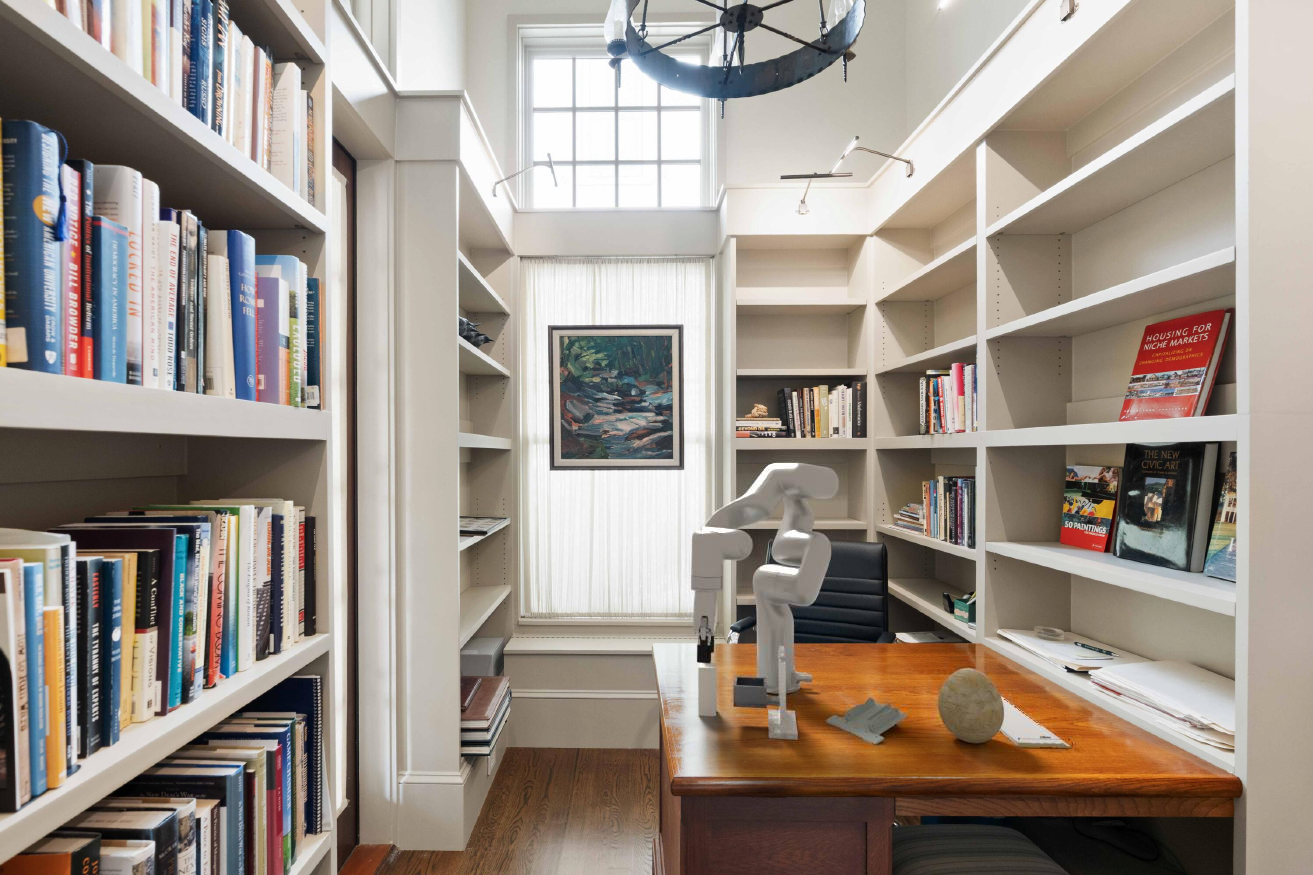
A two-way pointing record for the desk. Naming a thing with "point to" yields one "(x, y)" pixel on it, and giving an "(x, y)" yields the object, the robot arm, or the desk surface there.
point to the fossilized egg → (971, 706)
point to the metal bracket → (868, 720)
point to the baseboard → (1027, 730)
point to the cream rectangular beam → (707, 689)
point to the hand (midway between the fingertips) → (705, 657)
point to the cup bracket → (767, 701)
